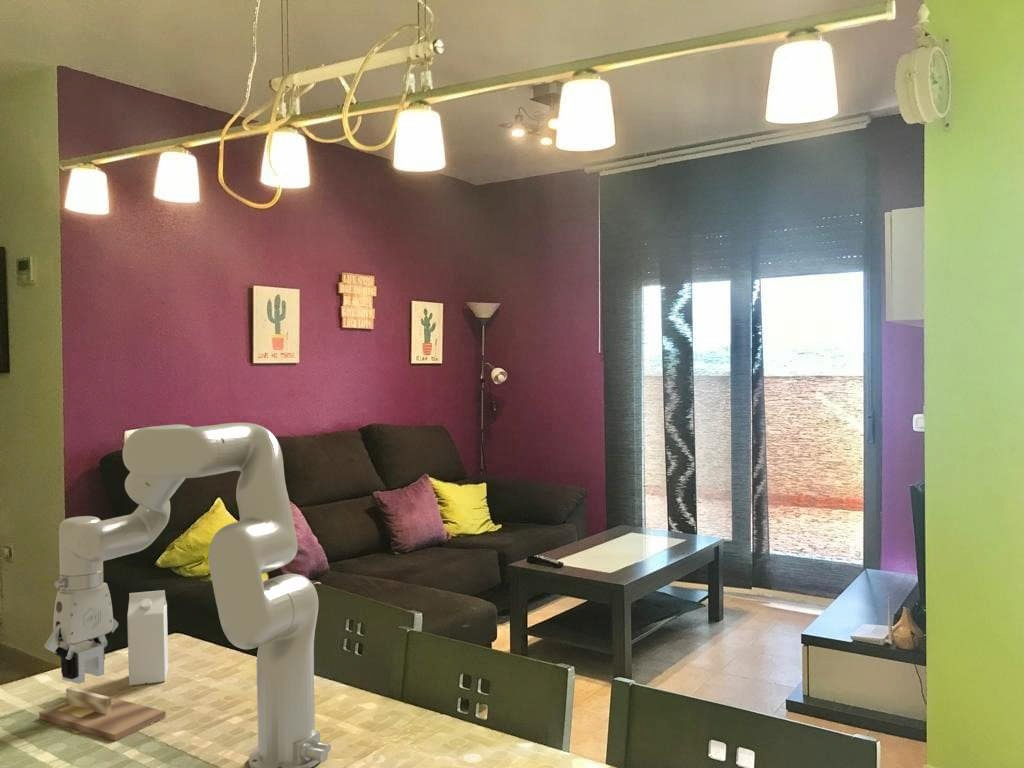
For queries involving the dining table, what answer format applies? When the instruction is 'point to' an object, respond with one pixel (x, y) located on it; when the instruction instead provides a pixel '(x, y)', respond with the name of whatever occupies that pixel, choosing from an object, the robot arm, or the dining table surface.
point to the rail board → (101, 714)
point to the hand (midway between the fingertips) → (83, 671)
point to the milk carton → (147, 637)
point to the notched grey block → (87, 660)
